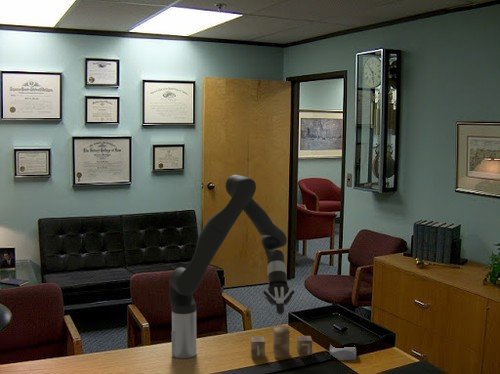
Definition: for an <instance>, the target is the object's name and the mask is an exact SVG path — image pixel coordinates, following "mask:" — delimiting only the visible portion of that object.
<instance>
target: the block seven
mask: <svg viewBox="0 0 500 374" xmlns="http://www.w3.org/2000/svg"><path fill="white" fill-rule="evenodd" d="M296 338H297V340H296V341H297V342H296V343H297V345H296V348H297V349H296V351H297V352H298V353H297V352H296V353H297V355H299V356H305V355H312V356H313V339H312V336H311V335H297V337H296ZM299 356H298V357H299Z"/></svg>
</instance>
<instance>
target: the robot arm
mask: <svg viewBox="0 0 500 374" xmlns="http://www.w3.org/2000/svg"><path fill="white" fill-rule="evenodd" d="M256 183H257V182H255V180H254V179H253V178H251V177H250V178H249V177H247V176H244V175H241V174H232V175H230V176H229V177H228V178H227V179H226V182H225V190H226V193H227V194H228V196H230V197H231V198H230V200H229V201H228V203H227V204H226V205H225V206H224V208H221V210H220V211H218V212H216V213H215V214H214V215H213V216H212V217H210V218H209V220H208V221H206V224H205V225H204V226H203V228H202V230H201V232H200V234H198V235H199V236H198V238H197V241H196V245H195V250H194V254H193V256H192V258H191V260H190V261H189V263H188V265H187V266H186V267H182V266H181V267H177V268H175V269H173V271H172V272H171V274H170V276H169V279H168V286H169V287H168V288H169V289H168V291H169V301H170V306H171V357H172V358H176V359H190V358H193V357H195V356H197V352H198V351H197V348H198V347H197V303H196V301H195V299H194V295H193V294H194V293H195V292H196V291H197V290H198V288H199V287H200V284H201V282H202V280H203V278H204V276H205V274H206V272H207V270H208V267H209V266H210V264H211V262H212V261H213V259H214V258H215V256H216V254H217V252H218V250H219V249H220V247H221V246H222V245H223V243H224V242H225V239H226V238H227V236H228V235H229V233H230V231H231V230H232V227H234V224H235V223H236V221H237V220H238V218H239V216H240V215H241V214H242V213H243V211H244V213H245V214H246V215H247V217H248V218H249V219H250V221H251V223H252V224H253V225H254V226H253V227H255V229H256V230H257V232H258V233H259V234H260V235H261V236H262V238H261V245H262V248H263V249H264V252H265V256H266V261H267V280H268V281H267V282H268V286H267V290H264V291H263V292H262V293H263V294H262V295H263V297H264V299H266V301H267V302H269V304H270V305H271V306H275V310H276V314H278V316H283V314H284V312H285V306H287V305H288V304H289V303H290V302H291V300H292V298H293V297H294V296H295V290H291V289H290V287H289V286H288V285H289V284H288V277H287V269H286V262H285V254H284V252H283V251H282V250H281V249H280V248H283V247H285V246H286V245H287V242H288V238H287V235H286V233H284V231H283V230H282V229H280V228H279V227H278V226H277V225H276V224H275V223H274V222H273V221H272V219H271V218H270V216H269V215H268V213H267V212H266V211H265V210H264V209H263V207H261V206H260V204H258V203H257V201H255V199H254V198H253V197H254V195H255V193H256V190H257V184H256ZM286 295H288V296H287V297H286ZM285 297H286V298H285ZM284 298H285V299H284Z"/></svg>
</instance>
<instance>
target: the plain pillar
mask: <svg viewBox="0 0 500 374" xmlns="http://www.w3.org/2000/svg"><path fill="white" fill-rule="evenodd" d="M290 334H291V333H290V329H289V327H288V326H287V327H286V326H285V327H282V326H281V327H279V326H277V327H273V335H272V336H273V338H272V340H273V343H272V344H273V349H272V350H273V353H272V354H273V356H274V359H289V358H290Z"/></svg>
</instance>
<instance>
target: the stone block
mask: <svg viewBox="0 0 500 374" xmlns="http://www.w3.org/2000/svg"><path fill="white" fill-rule="evenodd" d="M329 354H330V356H331V355H332V356H333V357H335V358H337V359H338V360H337V361H356V360H357V348H356V346H355V347H344V348H335V347H333V346H332V345H331V344H330V345H329Z"/></svg>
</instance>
